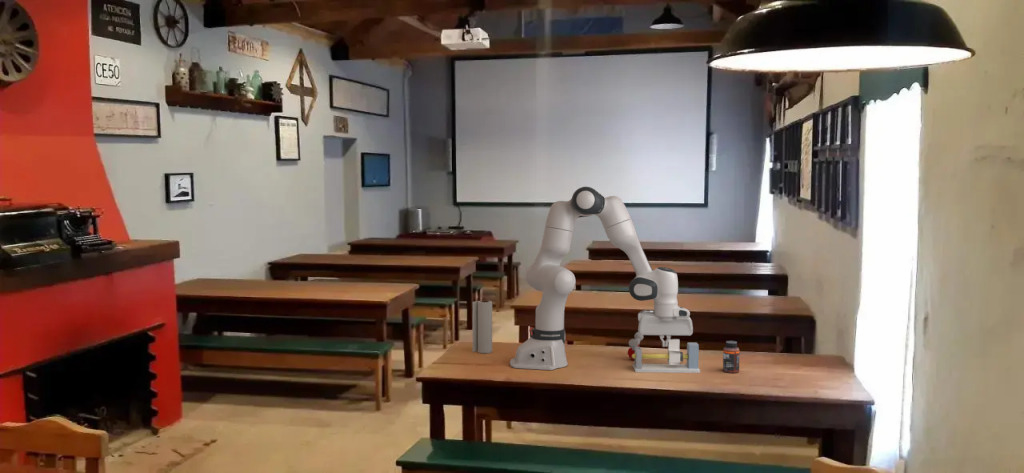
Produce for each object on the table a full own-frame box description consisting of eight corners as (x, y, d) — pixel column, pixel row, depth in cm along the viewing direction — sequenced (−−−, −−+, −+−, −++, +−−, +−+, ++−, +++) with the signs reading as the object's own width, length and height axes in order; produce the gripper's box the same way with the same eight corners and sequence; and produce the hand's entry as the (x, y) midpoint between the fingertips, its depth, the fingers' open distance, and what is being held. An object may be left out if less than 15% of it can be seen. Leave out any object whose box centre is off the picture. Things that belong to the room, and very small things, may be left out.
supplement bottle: (738, 370, 299) (739, 340, 298) (739, 374, 293) (740, 344, 292) (722, 369, 300) (723, 339, 299) (723, 373, 294) (723, 343, 293)
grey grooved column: (495, 351, 329) (495, 300, 327) (487, 354, 324) (487, 302, 322) (480, 349, 332) (480, 299, 331) (472, 352, 327) (472, 301, 325)
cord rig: (633, 372, 295) (633, 345, 295) (630, 366, 304) (630, 340, 304) (700, 372, 295) (700, 346, 294) (695, 366, 304) (695, 341, 303)
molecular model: (638, 365, 306) (638, 340, 305) (623, 364, 307) (624, 339, 306) (644, 355, 322) (645, 331, 321) (631, 354, 324) (631, 330, 323)
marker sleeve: (669, 364, 297) (669, 340, 296) (667, 361, 302) (667, 338, 301) (680, 364, 297) (680, 340, 296) (677, 361, 302) (678, 338, 301)
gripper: (639, 311, 295) (638, 348, 296) (694, 312, 294) (693, 348, 295) (636, 308, 301) (636, 344, 302) (690, 309, 301) (690, 344, 302)
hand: (664, 346), depth 299 cm, fingers closed
